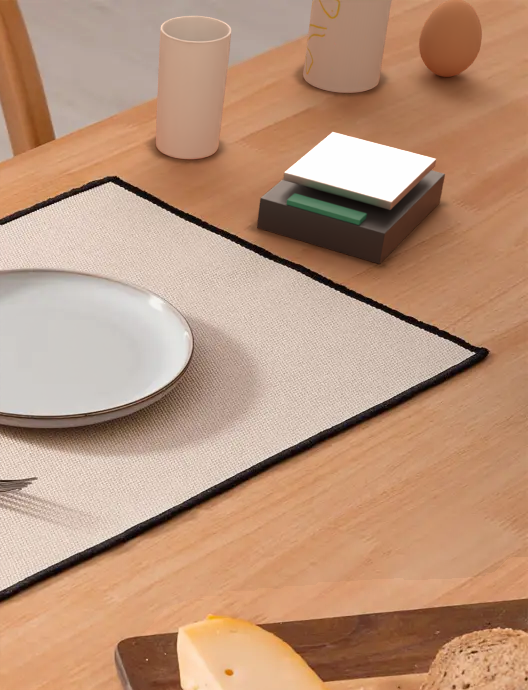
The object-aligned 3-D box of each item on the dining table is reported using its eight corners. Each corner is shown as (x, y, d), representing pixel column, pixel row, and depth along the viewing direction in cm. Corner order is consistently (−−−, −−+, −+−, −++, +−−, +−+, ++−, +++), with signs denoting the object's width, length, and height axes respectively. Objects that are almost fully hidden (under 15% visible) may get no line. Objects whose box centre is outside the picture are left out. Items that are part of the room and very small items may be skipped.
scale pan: (435, 166, 143) (436, 158, 142) (390, 210, 136) (391, 202, 135) (331, 139, 147) (332, 131, 147) (282, 180, 140) (283, 172, 140)
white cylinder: (299, 62, 172) (312, -48, 164) (373, 63, 171) (389, -46, 164) (307, 92, 165) (321, -21, 158) (384, 93, 165) (401, -20, 158)
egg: (414, 61, 172) (426, -13, 167) (474, 66, 171) (488, -9, 166) (413, 83, 167) (426, 8, 162) (474, 89, 166) (489, 13, 161)
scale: (439, 203, 145) (446, 169, 143) (379, 264, 136) (385, 228, 134) (322, 171, 150) (326, 137, 148) (256, 227, 141) (260, 193, 139)
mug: (213, 165, 151) (224, 45, 144) (146, 156, 153) (153, 37, 145) (232, 123, 159) (243, 8, 152) (167, 115, 160) (175, 0, 153)
